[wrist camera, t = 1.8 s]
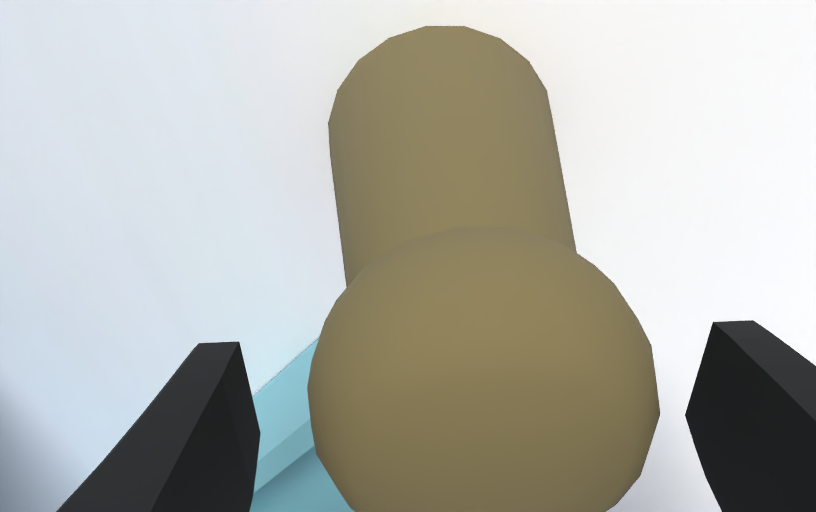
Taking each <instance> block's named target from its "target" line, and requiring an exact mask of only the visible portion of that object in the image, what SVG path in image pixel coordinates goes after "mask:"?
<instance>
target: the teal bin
mask: <svg viewBox="0 0 816 512" xmlns="http://www.w3.org/2000/svg"><path fill="white" fill-rule="evenodd" d="M318 340H319V338H318V339H317V340H316V341H315V342H314V343H313V344H311V345H310V346H309V347H308V348H307V349H306V350H305V351H304V352H302V353H301V354H300V355H299V356H298V357H297V358H296V359H295V360H293V361H292V362H291V363H290V364H289V365H288V366H287V367H286V368H284V369H283V370H282V371H281V372H280V373H279V374H278V375H277V376H275V377H274V378H273V379H272V380H271V381H270V382H269V383H268V384H266V385H265V386H264V387H263V388H262V389H261V390H260V391H259V392H257V393H256V394H255V395H254V396H253V397H252V398H253V403H254V407H255V411H256V415H257V420H258V424H259V428H260V432H261V434H260V443H259V452H258V461H257V470H256V477H255V485H254V493H253V499H252V503H251V507H250V512H355V511H354V510H352V509H351V508H350V507H349V506H348V504H347V502H346V501H345V499H344V498H343V496H342V495H341V493H340V492H339V490H338V489H337V487H336V486H335V484H334V483H333V481H332V479H331V478H330V476H329V474H328V473H327V471H326V469H325V468H324V466H323V464H322V463H321V461H320V459H319V458H318V456H317V454H316V450H315V445H314V439H313V434H312V428H311V421H310V411H309V402H308V392H307V385H308V379H309V373H310V367H311V361H312V357H313V354H314V352H315V349H316V346H317V343H318Z"/></svg>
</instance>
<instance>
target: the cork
mask: <svg viewBox="0 0 816 512" xmlns="http://www.w3.org/2000/svg"><path fill="white" fill-rule="evenodd" d="M328 128H329V144H330V158H331V166H332V174H333V182H334V190H335V198H336V206H337V214H338V222H339V230H340V238H341V246H342V254H343V262H344V270H345V278H346V286H347V288H346V289H345V291H344V292H343V293H342V294H341V295H340V296H339V298H338V299H337V300H336V302H335V304H334V306H333V308H332V309H331V311H330V313H329V315H328V317H327V318H326V320H325V323H324V325H323V328H322V331H321V334H320V337H319V340H318V343H317V346H316V349H315V352H314V354H313V357H312V361H311V367H310V373H309V379H308V385H307V392H308V402H309V411H310V421H311V428H312V434H313V439H314V445H315V450H316V454H317V456H318V458H319V459H320V461H321V463H322V464H323V466H324V468H325V469H326V471H327V473H328V474H329V476H330V478H331V479H332V481H333V483H334V484H335V486H336V487H337V489H338V490H339V492H340V493H341V495H342V496H343V498H344V499H345V501H346V502H347V504H348V506H349V507H350V508H351V509H352V510H354V511H355V512H606V511H607V510H609V509H610V508H612V507H613V506H614V505H616V504H617V503H618V502H619V501H620V499H621V498H622V497H623V496H624V495H625V493H626V492H627V491H628V490H629V489H630V487H631V486H632V485H633V484H634V483H635V481H636V480H637V479H638V478H639V477H640V475H641V472H642V469H643V466H644V463H645V460H646V457H647V454H648V451H649V448H650V445H651V442H652V439H653V435H654V432H655V429H656V426H657V423H658V419H659V416H660V408H659V400H658V391H657V383H656V376H655V369H654V361H653V354H652V347H651V344H650V342H649V340H648V338H647V336H646V334H645V332H644V330H643V328H642V326H641V324H640V322H639V320H638V319H637V317H636V316H635V314H634V313H633V311H632V310H631V308H630V307H629V305H628V304H627V302H626V301H625V299H624V298H623V296H622V295H621V293H620V292H619V290H618V289H617V287H616V286H615V284H614V283H613V282H612V281H611V280H610V279H609V278H608V277H607V276H605V275H604V274H603V273H602V272H601V271H600V270H599V269H598V268H597V267H596V266H595V265H593V264H592V263H590V262H589V261H587V260H586V259H584V258H583V257H581V256H580V255H579V254H577V252H576V247H575V241H574V236H573V230H572V224H571V219H570V213H569V208H568V202H567V197H566V191H565V186H564V180H563V175H562V169H561V163H560V158H559V152H558V147H557V141H556V136H555V130H554V125H553V120H552V115H551V110H550V105H549V100H548V95H547V90H546V89H545V87H544V85H543V84H542V82H541V80H540V79H539V77H538V76H537V74H536V72H535V71H534V69H533V67H532V66H531V64H530V62H529V61H528V60H527V59H525V58H524V57H523V56H522V55H520V54H519V53H518V52H517V51H515V50H514V49H513V48H512V47H510V46H509V45H508V44H506V43H505V42H504V41H503V40H501V39H500V38H497V37H494V36H491V35H488V34H485V33H483V32H480V31H477V30H474V29H471V28H468V27H465V26H425V27H422V28H419V29H416V30H413V31H409V32H406V33H403V34H400V35H397V36H394V37H391V38H389V39H387V40H386V41H384V42H383V43H382V44H380V45H379V46H378V47H376V48H375V49H374V50H372V51H371V52H369V53H368V54H367V55H365V56H364V57H363V58H361V59H360V60H358V62H357V63H356V65H355V66H354V68H353V69H352V70H351V72H350V73H349V75H348V76H347V78H346V79H345V80H344V82H343V83H342V85H341V86H340V87H339V89H338V91H337V94H336V98H335V101H334V105H333V108H332V112H331V115H330V119H329V122H328Z"/></svg>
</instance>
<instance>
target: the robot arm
mask: <svg viewBox="0 0 816 512" xmlns="http://www.w3.org/2000/svg"><path fill="white" fill-rule="evenodd" d="M685 416H686V419H687V423H688V426H689V429H690V432H691V435H692V438H693V442H694V445H695V448H696V451H697V454H698V457H699V459H700V462H701V465H702V468H703V471H704V474H705V476H706V479H707V481H708V483H709V485H710V487H711V489H712V492H713V494H714V496H715V498H716V500H717V502H718V504H719V506H720V508H721V510H722V512H816V366H815V365H814V364H812V363H811V362H810V361H808V360H807V359H806V358H804V357H803V356H802V355H800V354H799V353H798V352H796V351H795V350H794V349H792V348H791V347H790V346H788V345H787V344H786V343H784V342H783V341H782V340H780V339H779V338H777V337H776V336H775V335H773V334H772V333H771V332H769V331H768V330H766V329H765V328H763V327H762V326H761V325H759V324H758V323H756V322H755V321H753V320H752V321H728V322H713V324H712V327H711V331H710V334H709V337H708V341H707V344H706V347H705V351H704V354H703V357H702V361H701V364H700V367H699V371H698V374H697V377H696V380H695V384H694V387H693V390H692V394H691V397H690V400H689V404H688V407H687V410H686V414H685ZM260 434H261V432H260V428H259V424H258V420H257V415H256V411H255V407H254V403H253V398H252V394H251V390H250V386H249V381H248V377H247V373H246V369H245V364H244V360H243V356H242V352H241V347H240V343H239V342H219V343H199V344H198V345H197V346H196V347H195V348H194V349H193V350H192V352H191V353H190V354H189V355H188V357H187V358H186V359H185V360H184V362H183V363H182V364H181V366H180V367H179V368H178V369H177V371H176V372H175V373H174V374H173V376H172V377H171V378H170V380H169V381H168V382H167V383H166V385H165V386H164V387H163V389H162V390H161V391H160V392H159V394H158V395H157V396H156V397H155V399H154V400H153V401H152V402H151V404H150V405H149V406H148V407H147V409H146V410H145V411H144V412H143V414H142V415H141V416H140V417H139V418H138V420H137V421H136V422H135V423H134V424H133V426H132V427H131V428H130V429H129V430H128V431H127V433H126V434H125V435H124V436H123V437H122V439H121V440H120V441H119V442H118V443H117V445H116V446H115V447H114V448H113V449H112V451H111V452H110V453H109V454H108V455H107V456H106V458H105V459H104V460H103V461H102V462H101V463H100V464H99V466H98V467H97V468H96V469H95V470H94V471H93V472H92V473H91V474H90V475H89V477H88V478H87V479H86V480H85V481H84V482H83V483H82V484H81V485H80V486H79V487H78V489H77V490H76V491H75V492H74V493H73V494H72V495H71V496H70V497H69V498H68V499H67V501H66V502H65V503H64V504H63V505H62V506H61V507H60V508H59V509H58V510H57V511H56V512H250V507H251V503H252V499H253V493H254V485H255V477H256V470H257V461H258V452H259V443H260Z"/></svg>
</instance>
